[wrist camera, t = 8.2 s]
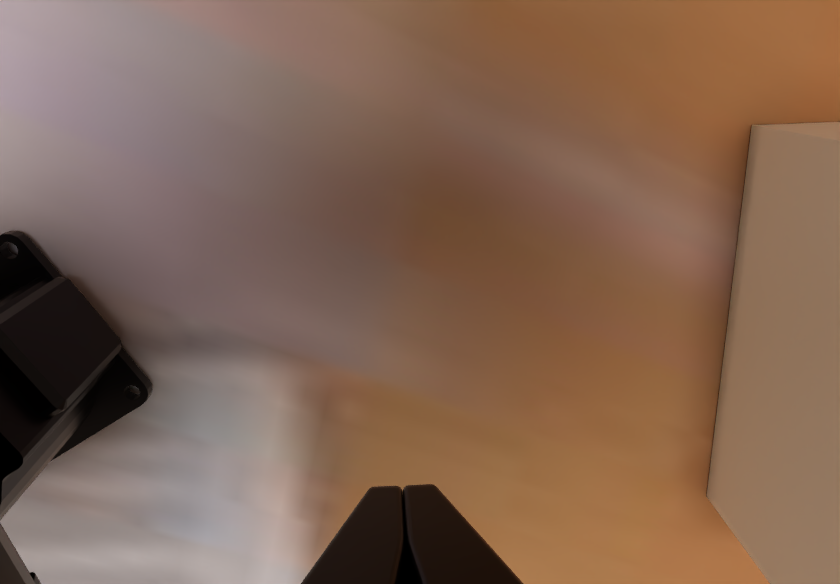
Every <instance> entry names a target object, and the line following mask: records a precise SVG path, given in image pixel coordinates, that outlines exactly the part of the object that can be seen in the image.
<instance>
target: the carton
mask: <svg viewBox="0 0 840 584" xmlns="http://www.w3.org/2000/svg"><path fill="white" fill-rule="evenodd" d="M706 497H707V498H708V499H709V501H710V502H711V503H712V505H713V506H714V508H715V509H716V510H717V512H718V513H719V514H720V516H721V517H722V519H723V520H724V521H725V523H726V524H727V525H728V527H729V528H730V529H731V531H732V532H733V534H734V535H735V536H736V538H737V539H738V540H739V542H740V543H741V545H742V546H743V547H744V549H745V550H746V551H747V553H748V554H749V555H750V557H751V558H752V560H753V561H754V562H755V564H756V565H757V566H758V568H759V569H760V571H761V572H762V573H763V575H764V576H765V577H766V579H767V580H768V581H769V583H770V584H840V122H819V123H792V124H765V125H752V126H751V135H750V143H749V151H748V159H747V167H746V176H745V184H744V192H743V200H742V208H741V217H740V225H739V233H738V241H737V250H736V258H735V266H734V274H733V282H732V291H731V299H730V307H729V315H728V323H727V332H726V340H725V348H724V356H723V364H722V373H721V381H720V389H719V397H718V405H717V414H716V422H715V430H714V438H713V447H712V455H711V463H710V471H709V479H708V488H707V496H706Z"/></svg>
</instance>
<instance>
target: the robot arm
mask: <svg viewBox="0 0 840 584" xmlns="http://www.w3.org/2000/svg"><path fill="white" fill-rule="evenodd" d="M8 242H10V243H13V244H14V245H16V247H17V249H18V255H14V254H12V253H11V252H10V251H9V249H8ZM130 385H132V386H136V387H137V388H138V389H139V391H140V394H134V393H132V392H131V391H130V390H129V388H128V386H130ZM151 392H152V384H151V382H150V380H149V379H148V378H147V377H146V375H145V374H144V373H143V372H142V371H141V369H140V368H139V367H138V366H137V365H136V364H135V362H134V361H133V360H132V359H131V358H130V356H129V355H128V354H127V353H126V352H125V351H124V349H123V348H122V347H121V340H120V339H119V338H118V336H117V335H116V334H115V333H114V332H113V331H112V329H111V328H110V327H109V326H108V325H107V323H106V322H105V321H104V320H103V319H102V318H101V316H100V315H99V314H98V313H97V312H96V310H95V309H94V308H93V307H92V306H91V305H90V303H89V302H88V301H87V300H86V299H85V297H84V296H83V295H82V294H81V293H80V291H79V290H78V289H77V288H76V287H75V286H74V284H73V283H72V282H71V281H70V280H69V279H66V278H63V277H62V276H61V275H60V274H59V273H58V271H57V270H56V269H55V268H54V267H53V266H52V264H51V263H50V262H49V261H48V260H47V258H46V257H45V256H44V255H43V254H42V253H41V251H40V250H39V249H38V248H37V247H36V245H35V244H34V243H33V242H32V241H31V240H30V238H28V237H27V236H26V235H25V234H24V233H21V232H18V231H9V232H6V233H4V234H2V235H0V520H1V519H2V518H3V516H4V515H5V514H6V513H7V512H8V510H9V509H10V508H11V507H12V506H13V505H14V503H15V502H16V501H17V500H18V499H19V497H20V496H21V495H22V494H23V493H24V492H25V490H26V489H27V488H28V487H29V486H30V484H31V483H32V482H33V481H34V480H35V478H36V477H37V476H38V475H39V474H40V473H41V471H42V470H43V469H44V468H45V467H46V465H47V464H48V463H49V462H50V461H51V460H53V459H55V458H56V457H58V456H60V455H61V454H63V453H64V452H66V451H68V450H69V449H71V448H73V447H74V446H76V445H77V444H79V443H81V442H82V441H84V440H86V439H87V438H89V437H90V436H92V435H94V434H95V433H97V432H99V431H100V430H102V429H103V428H105V427H107V426H108V425H110V424H112V423H113V422H115V421H116V420H118V419H120V418H121V417H123V416H124V415H126V414H128V413H129V412H131V411H133V410H134V409H136V408H137V407H139V406H141V405H142V404H143V403H144V402H145V401H146V400H147V399H148V398H149V396H150V395H151ZM0 584H41V583H40V581H39V579H38V577H37V576H36V574H35V573H33V572H31V573H29V571H28V569H27V568H26V566H25V564H24V563H23V561H22V559H21V558H20V556H19V554H18V552H17V551H16V549H15V547H14V546H13V544H12V542H11V541H10V539H9V537H8V535H7V534H6V532H5V530H4V529H3V527H2V525H1V524H0ZM301 584H523V583H522V582H521V580H520V579H519V578H518V577H517V576H516V575H515V574H514V573H513V572H512V570H511V569H510V568H509V567H508V566H507V565H506V564H505V563H504V561H503V560H502V559H501V558H500V557H499V556H498V555H497V554H496V553H495V551H494V550H493V549H492V548H491V547H490V546H489V545H488V544H487V543H486V541H485V540H484V539H483V538H482V537H481V536H480V535H479V534H478V533H477V531H476V530H475V529H474V528H473V527H472V526H471V525H470V524H469V523H468V521H467V520H466V519H465V518H464V517H463V516H462V515H461V514H460V513H459V511H458V510H457V509H456V508H455V507H454V506H453V505H452V504H451V502H450V501H449V500H448V499H447V498H446V497H445V496H444V495H443V494H442V492H441V491H440V490H439V489H438V488H437V487H436V486H434V485H432V484H426V485H408V486H405V487H404V489H403V494H402V489H401V488H400V487H399V486H378V487H371V488H370V489H369V490H368V491H367V492H366V494H365V495H364V497H363V498H362V499H361V501H360V502H359V504H358V505H357V506H356V508H355V509H354V511H353V512H352V513H351V515H350V516H349V517H348V519H347V520H346V522H345V523H344V524H343V526H342V527H341V529H340V530H339V531H338V533H337V534H336V536H335V537H334V538H333V540H332V541H331V543H330V544H329V545H328V547H327V548H326V550H325V551H324V552H323V554H322V555H321V557H320V558H319V559H318V561H317V562H316V563H315V565H314V566H313V568H312V569H311V570H310V572H309V573H308V575H307V576H306V577H305V579H304V580H303V582H302V583H301Z"/></svg>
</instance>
